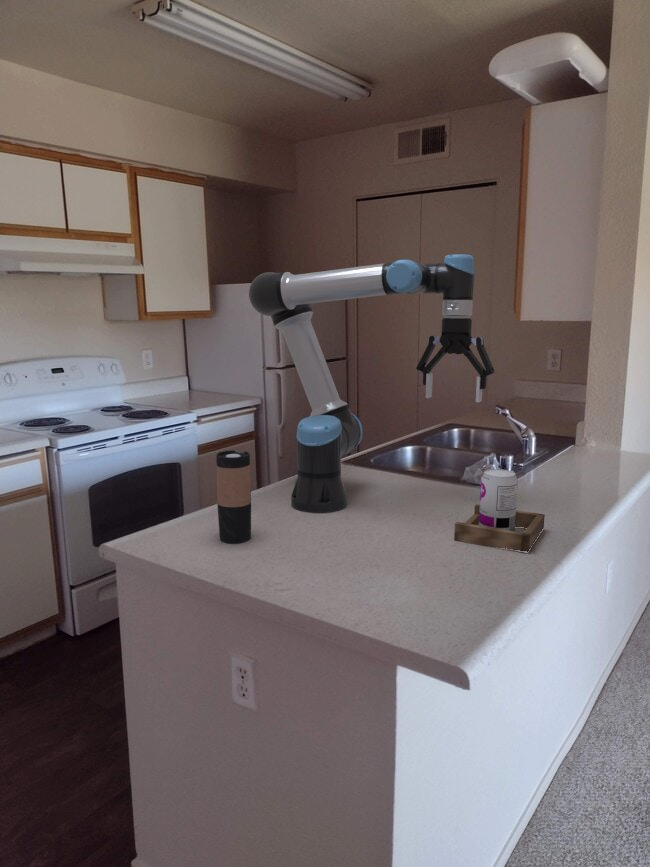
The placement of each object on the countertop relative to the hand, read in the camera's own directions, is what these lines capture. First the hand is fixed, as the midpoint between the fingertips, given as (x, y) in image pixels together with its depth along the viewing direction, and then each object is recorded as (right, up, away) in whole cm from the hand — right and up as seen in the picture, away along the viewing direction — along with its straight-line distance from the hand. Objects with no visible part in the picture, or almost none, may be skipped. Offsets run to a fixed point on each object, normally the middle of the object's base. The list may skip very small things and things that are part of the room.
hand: (453, 399), depth 169 cm
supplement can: (+7, -33, -18) cm, 38 cm away
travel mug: (-54, -33, -20) cm, 67 cm away
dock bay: (+7, -33, -18) cm, 38 cm away
